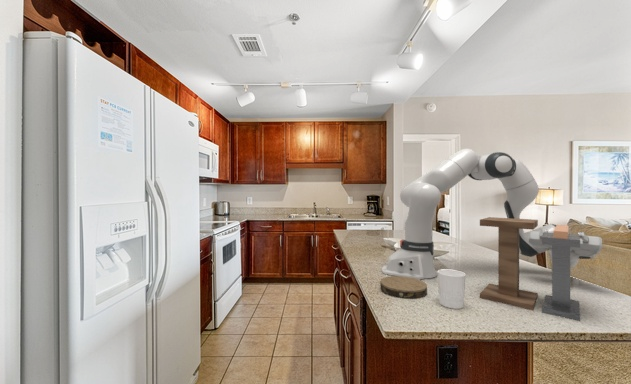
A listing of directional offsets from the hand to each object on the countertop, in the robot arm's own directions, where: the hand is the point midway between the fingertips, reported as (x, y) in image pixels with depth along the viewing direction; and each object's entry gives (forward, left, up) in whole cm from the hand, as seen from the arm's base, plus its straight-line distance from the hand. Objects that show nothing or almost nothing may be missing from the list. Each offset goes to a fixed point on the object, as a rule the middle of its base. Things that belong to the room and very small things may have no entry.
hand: (562, 232), depth 98 cm
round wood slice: (-52, -22, -22) cm, 61 cm away
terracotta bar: (-5, -15, +1) cm, 16 cm away
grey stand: (-7, -19, -21) cm, 29 cm away
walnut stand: (-19, -15, -21) cm, 32 cm away
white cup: (-37, -29, -21) cm, 52 cm away
